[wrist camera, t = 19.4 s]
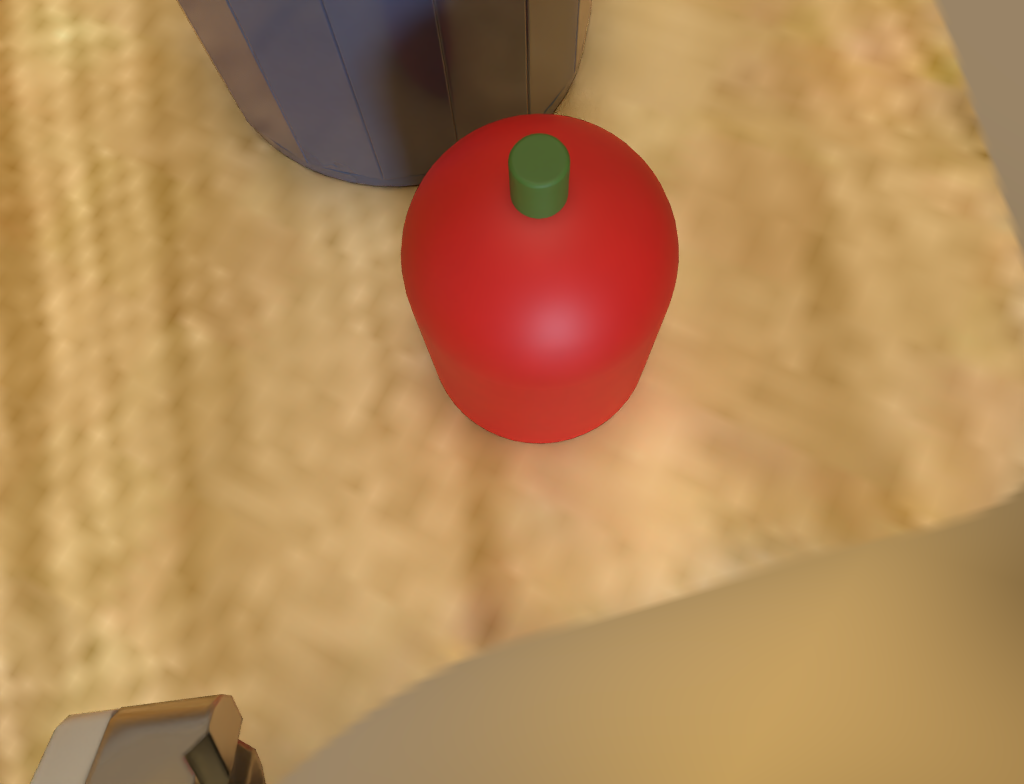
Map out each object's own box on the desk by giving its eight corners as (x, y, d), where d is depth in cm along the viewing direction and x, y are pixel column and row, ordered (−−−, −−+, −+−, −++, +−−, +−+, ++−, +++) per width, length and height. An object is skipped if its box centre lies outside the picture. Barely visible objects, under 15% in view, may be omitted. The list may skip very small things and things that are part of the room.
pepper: (564, 487, 19) (581, 392, 12) (389, 362, 20) (295, 196, 12) (688, 315, 20) (780, 121, 13) (515, 203, 21) (502, -43, 13)
